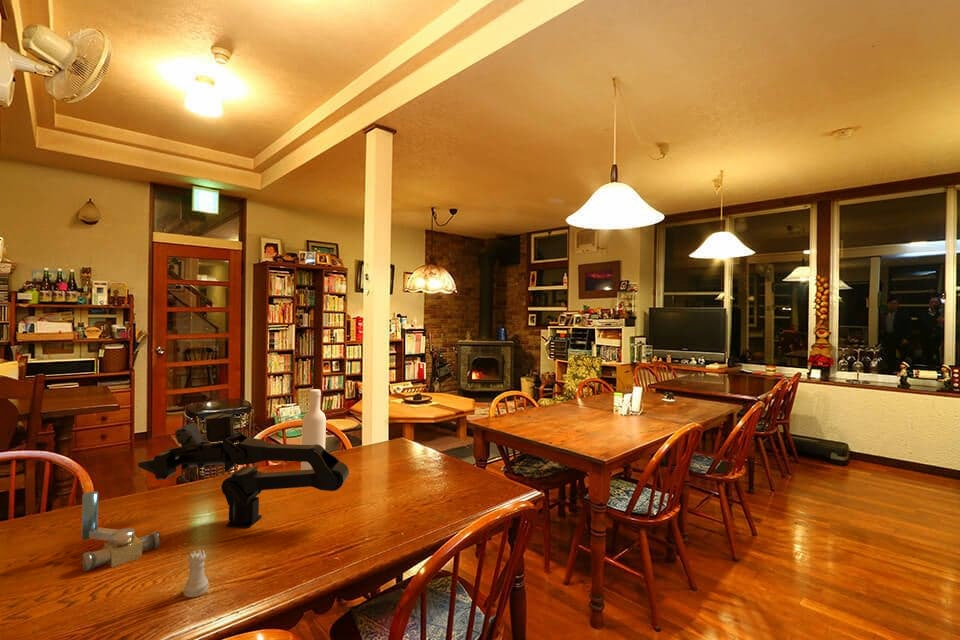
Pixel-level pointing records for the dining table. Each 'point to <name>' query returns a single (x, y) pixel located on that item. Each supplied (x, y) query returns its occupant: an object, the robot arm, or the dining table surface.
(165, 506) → the dining table surface
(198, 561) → the rook chess piece
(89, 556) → the valve body
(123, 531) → the lever
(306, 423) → the bottle
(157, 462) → the robot arm
